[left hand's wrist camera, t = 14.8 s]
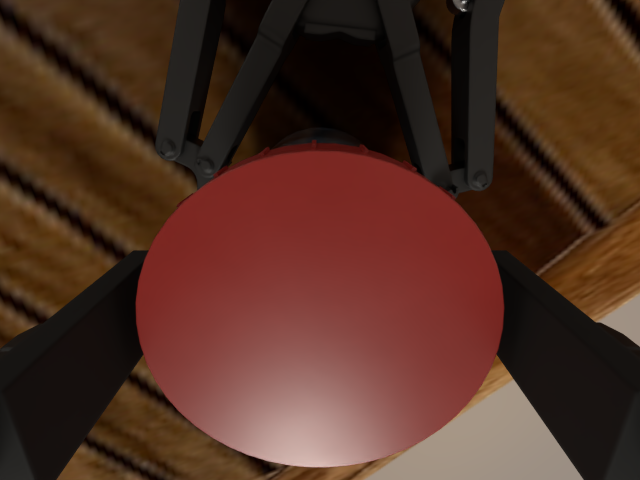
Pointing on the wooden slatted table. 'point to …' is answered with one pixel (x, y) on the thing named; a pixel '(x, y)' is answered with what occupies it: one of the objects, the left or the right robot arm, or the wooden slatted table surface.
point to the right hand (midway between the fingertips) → (312, 295)
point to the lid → (319, 306)
